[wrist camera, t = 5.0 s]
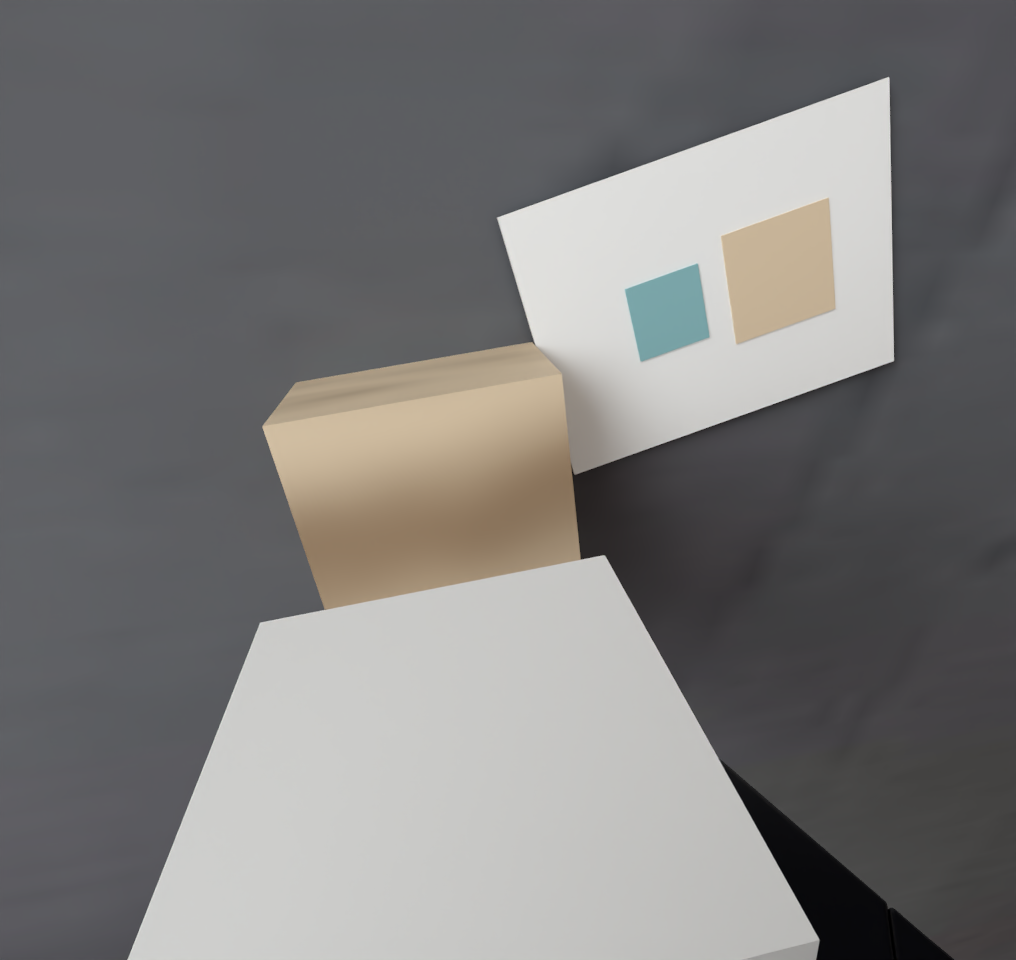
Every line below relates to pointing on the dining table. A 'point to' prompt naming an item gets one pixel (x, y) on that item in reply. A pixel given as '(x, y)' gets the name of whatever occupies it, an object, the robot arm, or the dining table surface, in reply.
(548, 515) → the oak base
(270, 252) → the dining table surface
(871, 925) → the robot arm
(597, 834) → the white cube
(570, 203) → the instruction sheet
